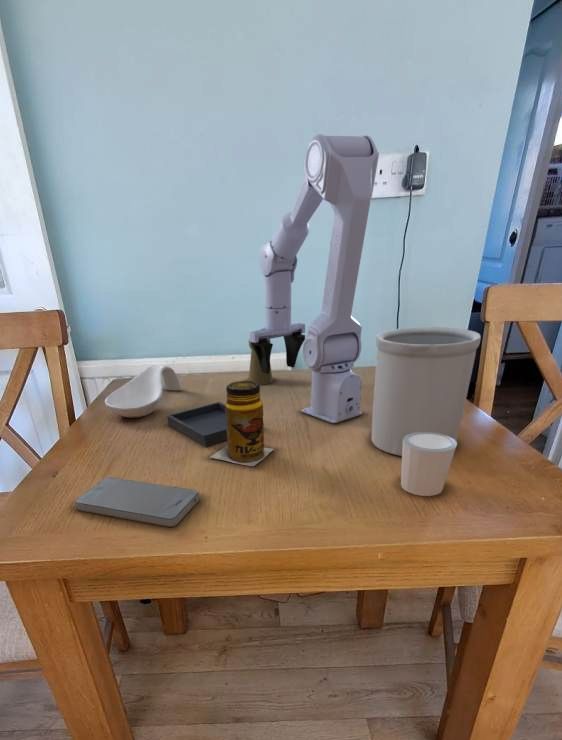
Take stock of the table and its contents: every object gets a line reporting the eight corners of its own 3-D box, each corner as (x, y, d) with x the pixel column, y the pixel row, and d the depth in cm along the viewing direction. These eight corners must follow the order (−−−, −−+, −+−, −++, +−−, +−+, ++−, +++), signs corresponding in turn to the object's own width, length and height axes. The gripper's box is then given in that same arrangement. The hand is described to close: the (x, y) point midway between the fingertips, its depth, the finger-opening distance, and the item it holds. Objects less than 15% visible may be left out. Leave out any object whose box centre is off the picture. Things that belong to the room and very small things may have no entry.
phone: (108, 483, 71) (107, 476, 71) (202, 498, 66) (201, 490, 65) (74, 509, 65) (72, 501, 64) (174, 528, 60) (173, 519, 59)
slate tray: (260, 429, 87) (260, 419, 86) (205, 446, 82) (204, 435, 81) (219, 411, 98) (219, 401, 96) (168, 425, 92) (166, 415, 91)
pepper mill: (263, 385, 112) (262, 338, 106) (243, 382, 115) (241, 336, 109) (277, 379, 116) (277, 333, 110) (257, 376, 119) (256, 331, 113)
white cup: (407, 471, 70) (414, 427, 66) (454, 483, 66) (464, 437, 62) (388, 489, 66) (394, 443, 62) (437, 503, 62) (447, 455, 58)
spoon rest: (148, 425, 92) (142, 390, 89) (97, 421, 96) (89, 387, 92) (194, 390, 111) (191, 360, 108) (150, 388, 115) (146, 358, 111)
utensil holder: (351, 433, 84) (359, 331, 75) (421, 421, 87) (437, 322, 78) (398, 466, 71) (415, 349, 62) (478, 450, 75) (505, 337, 66)
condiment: (254, 467, 74) (251, 393, 67) (209, 458, 77) (203, 387, 71) (274, 450, 79) (273, 380, 73) (231, 442, 83) (227, 375, 77)
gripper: (291, 301, 107) (290, 361, 114) (240, 309, 101) (243, 372, 108) (312, 303, 102) (310, 366, 109) (260, 312, 96) (261, 378, 103)
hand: (278, 369), depth 108 cm, fingers open, 7 cm apart
